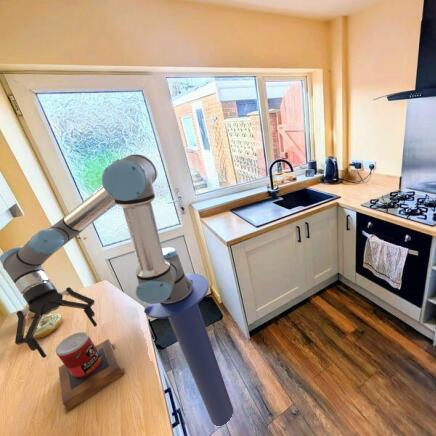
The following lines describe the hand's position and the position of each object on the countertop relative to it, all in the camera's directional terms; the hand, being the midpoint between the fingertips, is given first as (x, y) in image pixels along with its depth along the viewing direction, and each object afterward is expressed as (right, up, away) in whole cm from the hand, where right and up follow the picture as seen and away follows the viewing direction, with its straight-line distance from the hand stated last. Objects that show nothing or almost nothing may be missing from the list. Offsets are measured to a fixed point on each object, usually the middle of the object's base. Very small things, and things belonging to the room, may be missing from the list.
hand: (71, 340), depth 80 cm
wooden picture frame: (+7, -11, 0) cm, 13 cm away
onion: (-41, -3, +30) cm, 50 cm away
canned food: (+7, -8, -2) cm, 10 cm away
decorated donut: (-28, -6, +20) cm, 35 cm away
